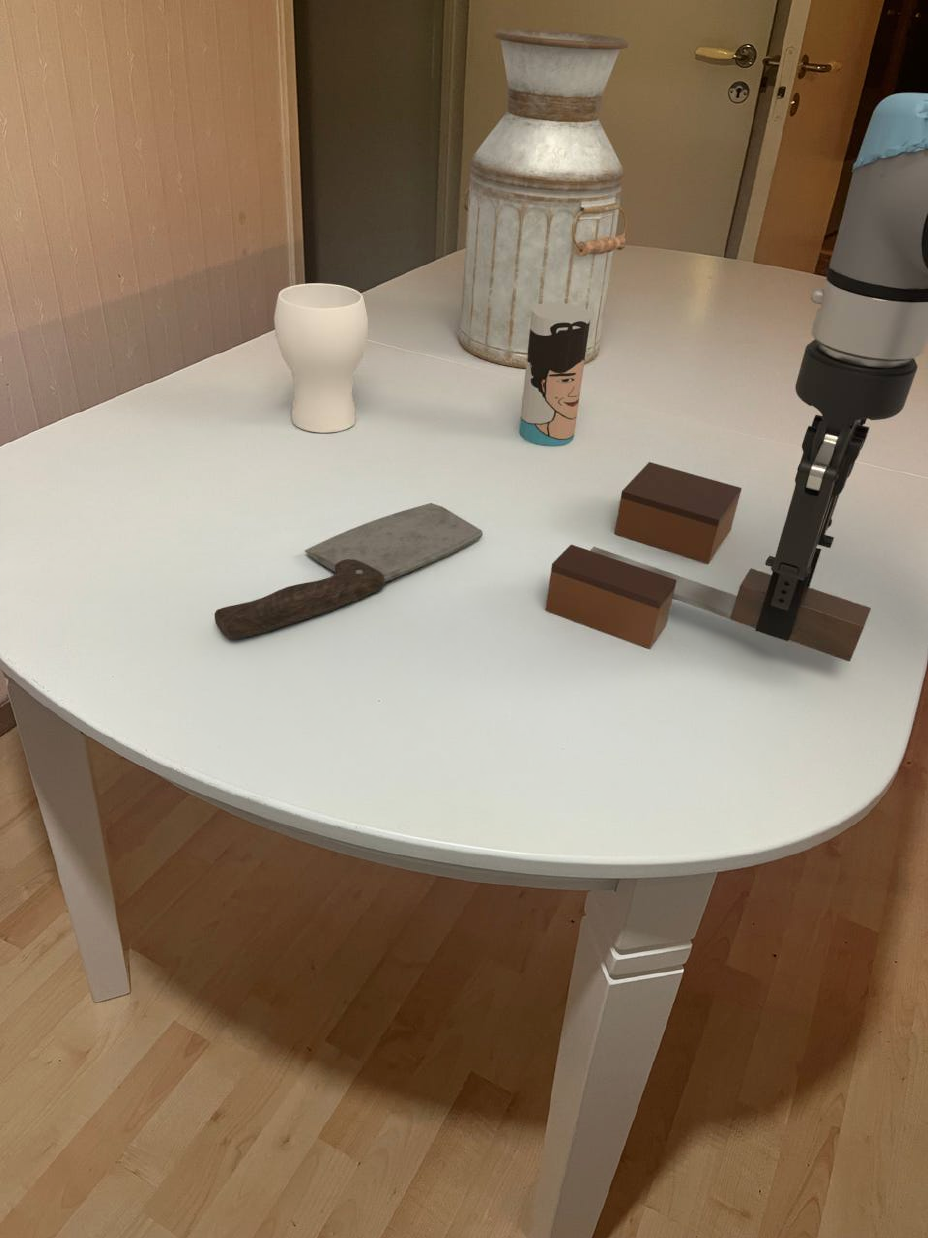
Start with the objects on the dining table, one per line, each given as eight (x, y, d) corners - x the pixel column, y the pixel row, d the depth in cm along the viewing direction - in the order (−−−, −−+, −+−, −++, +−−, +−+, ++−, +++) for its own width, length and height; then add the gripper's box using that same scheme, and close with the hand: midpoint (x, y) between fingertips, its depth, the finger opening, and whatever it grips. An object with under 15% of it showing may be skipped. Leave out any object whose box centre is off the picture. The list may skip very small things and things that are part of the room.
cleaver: (248, 659, 74) (247, 638, 73) (180, 606, 79) (177, 586, 78) (492, 539, 93) (494, 521, 91) (423, 503, 98) (424, 485, 97)
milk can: (423, 331, 141) (434, 24, 118) (524, 310, 153) (553, 26, 130) (533, 384, 127) (571, 45, 103) (636, 356, 138) (690, 45, 115)
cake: (730, 530, 97) (742, 487, 94) (708, 564, 91) (719, 519, 88) (640, 503, 100) (649, 461, 98) (613, 534, 95) (621, 490, 92)
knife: (857, 642, 77) (871, 607, 75) (849, 662, 75) (864, 626, 73) (593, 551, 86) (599, 517, 84) (579, 566, 83) (585, 531, 81)
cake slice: (665, 626, 82) (677, 579, 79) (650, 649, 79) (661, 601, 76) (563, 590, 86) (570, 543, 83) (545, 610, 83) (551, 563, 80)
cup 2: (541, 450, 110) (556, 324, 101) (508, 428, 114) (520, 306, 105) (585, 439, 113) (603, 316, 104) (551, 418, 117) (566, 299, 109)
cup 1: (261, 420, 112) (252, 294, 103) (321, 395, 119) (318, 276, 110) (326, 446, 107) (323, 317, 98) (385, 419, 114) (387, 296, 105)
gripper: (831, 310, 72) (758, 566, 85) (782, 369, 60) (706, 656, 73) (933, 330, 69) (841, 592, 82) (903, 396, 57) (801, 689, 71)
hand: (778, 622), depth 78 cm, fingers closed on knife, 3 cm apart
